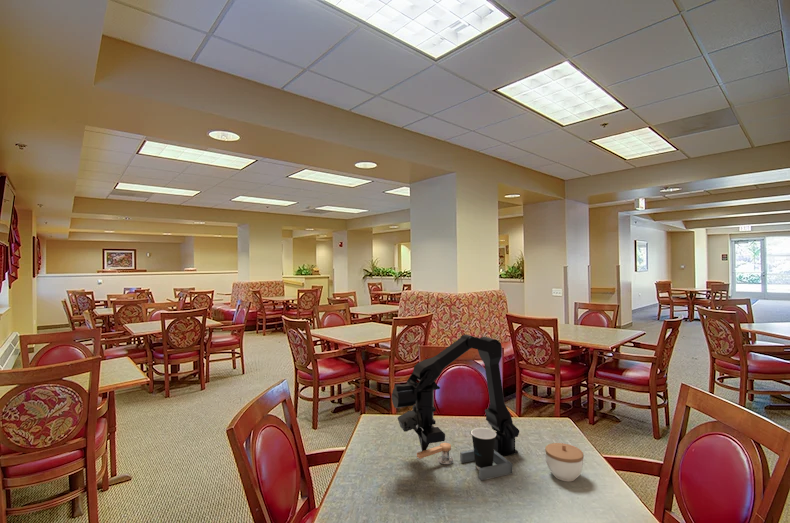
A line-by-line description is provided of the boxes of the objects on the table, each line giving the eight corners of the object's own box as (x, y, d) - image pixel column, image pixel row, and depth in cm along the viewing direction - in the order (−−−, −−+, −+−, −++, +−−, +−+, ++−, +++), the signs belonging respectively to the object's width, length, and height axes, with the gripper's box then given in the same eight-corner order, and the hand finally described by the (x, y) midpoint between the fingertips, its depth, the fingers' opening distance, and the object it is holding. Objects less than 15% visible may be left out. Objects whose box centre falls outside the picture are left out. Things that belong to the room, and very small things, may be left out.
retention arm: (446, 445, 131) (446, 441, 131) (453, 449, 128) (453, 445, 128) (415, 455, 124) (415, 451, 124) (421, 460, 121) (421, 456, 121)
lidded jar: (581, 470, 122) (581, 440, 123) (586, 488, 112) (585, 455, 112) (544, 464, 126) (544, 435, 126) (546, 482, 116) (545, 450, 116)
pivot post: (448, 456, 132) (448, 445, 132) (455, 463, 127) (455, 452, 127) (435, 458, 130) (435, 447, 130) (442, 466, 126) (442, 454, 126)
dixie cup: (467, 469, 123) (467, 434, 123) (476, 459, 130) (475, 425, 130) (492, 476, 119) (492, 440, 119) (499, 465, 126) (499, 430, 126)
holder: (489, 455, 132) (489, 446, 132) (512, 473, 121) (512, 463, 121) (460, 461, 129) (460, 451, 129) (481, 480, 117) (481, 470, 117)
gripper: (391, 395, 131) (390, 441, 132) (411, 418, 114) (411, 471, 114) (421, 392, 135) (421, 437, 135) (446, 413, 117) (445, 465, 118)
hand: (423, 451), depth 126 cm, fingers closed, pressing on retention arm
